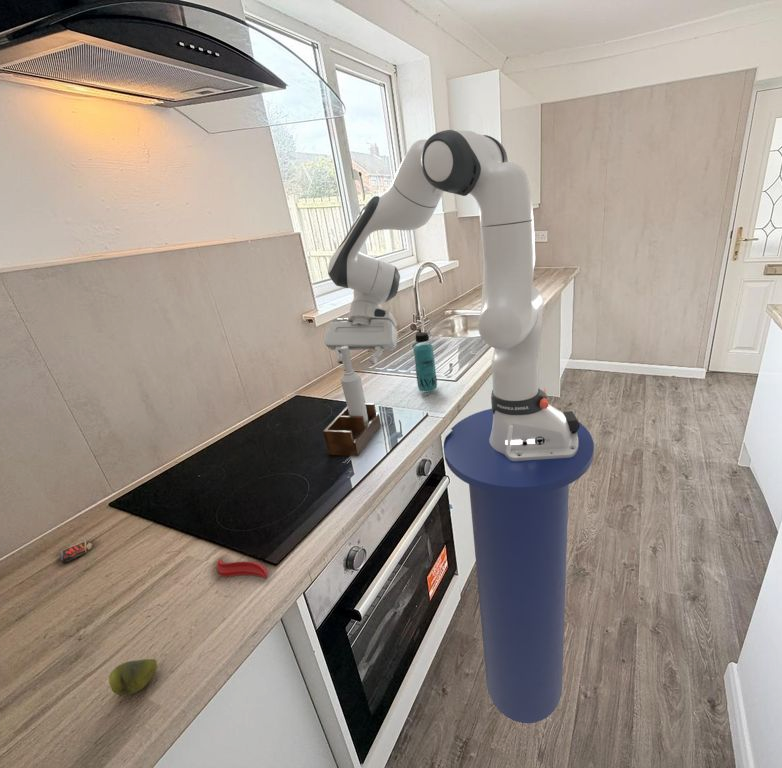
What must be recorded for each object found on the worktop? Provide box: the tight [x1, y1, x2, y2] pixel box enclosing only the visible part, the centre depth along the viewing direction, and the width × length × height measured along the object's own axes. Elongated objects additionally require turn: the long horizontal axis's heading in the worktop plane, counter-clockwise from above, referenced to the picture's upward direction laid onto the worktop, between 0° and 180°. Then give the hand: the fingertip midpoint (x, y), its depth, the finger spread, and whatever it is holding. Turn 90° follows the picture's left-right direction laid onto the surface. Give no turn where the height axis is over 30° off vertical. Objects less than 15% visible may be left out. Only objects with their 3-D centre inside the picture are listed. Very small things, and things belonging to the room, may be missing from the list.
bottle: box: [340, 346, 369, 426], centre depth 110 cm, size 5×5×25 cm
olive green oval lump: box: [108, 658, 158, 697], centre depth 55 cm, size 4×5×5 cm
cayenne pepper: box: [216, 558, 269, 580], centre depth 73 cm, size 12×5×2 cm, turn 61°
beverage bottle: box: [413, 332, 438, 393], centre depth 132 cm, size 6×7×20 cm
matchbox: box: [60, 540, 93, 563], centre depth 81 cm, size 5×5×1 cm
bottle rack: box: [322, 402, 382, 457], centre depth 110 cm, size 8×16×7 cm, turn 169°
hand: (356, 363), depth 111 cm, fingers open, 8 cm apart
